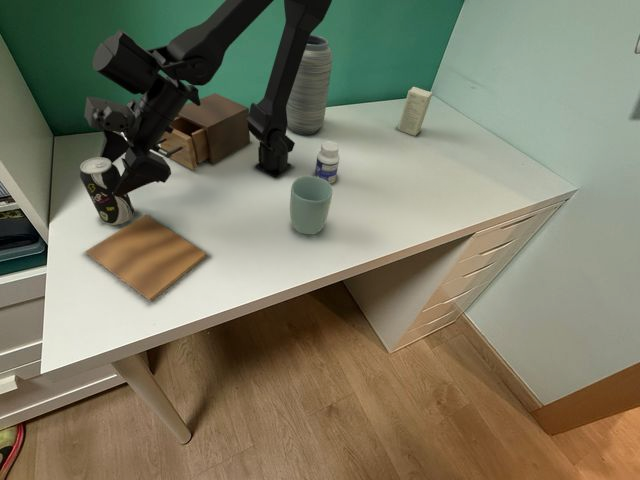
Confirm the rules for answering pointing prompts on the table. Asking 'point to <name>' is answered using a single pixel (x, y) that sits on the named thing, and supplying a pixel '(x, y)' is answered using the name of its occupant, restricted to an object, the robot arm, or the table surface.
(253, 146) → the table surface
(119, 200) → the beverage can
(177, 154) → the drawer
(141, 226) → the wooden board
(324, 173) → the pill bottle
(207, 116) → the cabinet
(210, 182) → the table surface
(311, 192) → the cup
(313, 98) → the vase
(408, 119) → the cosmetic box
